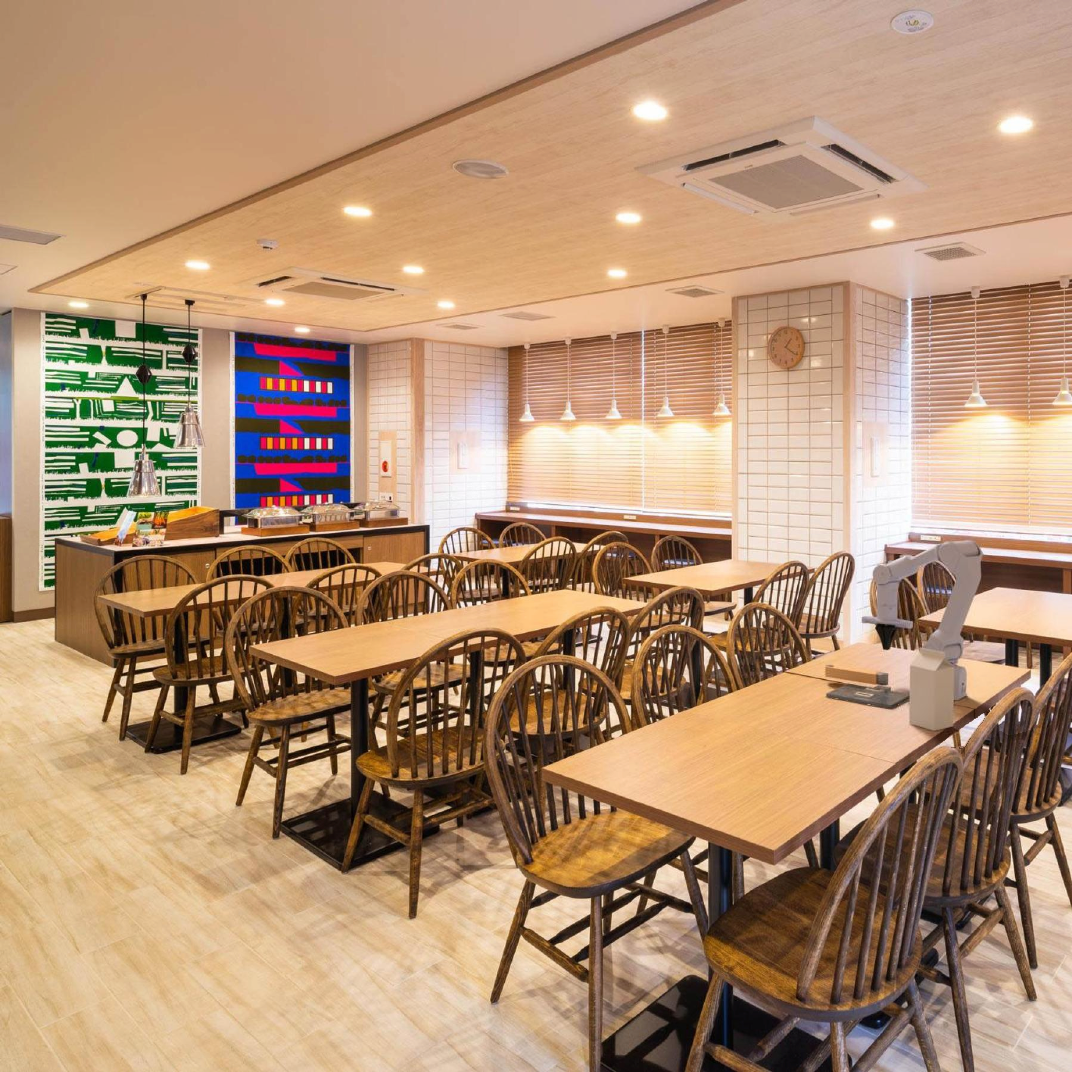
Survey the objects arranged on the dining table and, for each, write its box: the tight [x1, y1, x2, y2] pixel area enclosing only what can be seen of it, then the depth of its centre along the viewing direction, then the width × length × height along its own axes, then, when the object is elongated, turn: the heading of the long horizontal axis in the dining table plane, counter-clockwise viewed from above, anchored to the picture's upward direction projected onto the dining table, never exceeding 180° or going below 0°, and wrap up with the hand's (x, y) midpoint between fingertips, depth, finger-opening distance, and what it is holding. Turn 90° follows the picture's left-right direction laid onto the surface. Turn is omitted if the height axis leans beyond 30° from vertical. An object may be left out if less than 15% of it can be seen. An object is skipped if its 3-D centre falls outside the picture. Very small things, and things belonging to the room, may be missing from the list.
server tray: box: [825, 683, 910, 710], centre depth 232 cm, size 18×18×2 cm
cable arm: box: [824, 663, 889, 686], centre depth 242 cm, size 18×4×3 cm, turn 46°
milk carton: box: [908, 647, 955, 732], centre depth 204 cm, size 7×7×19 cm
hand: (886, 649), depth 248 cm, fingers closed
